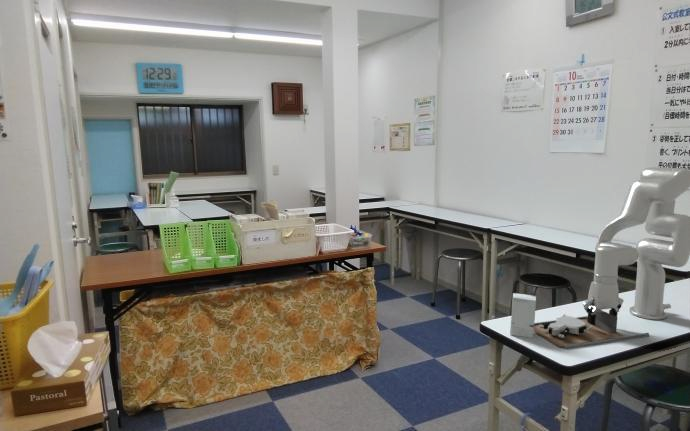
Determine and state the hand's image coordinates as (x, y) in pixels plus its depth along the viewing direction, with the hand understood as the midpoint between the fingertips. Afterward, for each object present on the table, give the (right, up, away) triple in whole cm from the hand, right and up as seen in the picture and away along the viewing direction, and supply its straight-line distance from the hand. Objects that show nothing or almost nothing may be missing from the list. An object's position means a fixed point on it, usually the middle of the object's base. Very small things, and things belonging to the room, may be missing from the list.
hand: (601, 322), depth 168 cm
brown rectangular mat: (-11, -3, -2) cm, 12 cm away
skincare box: (-31, -4, -2) cm, 31 cm away
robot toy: (-16, -3, -3) cm, 17 cm away
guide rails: (-6, -3, -1) cm, 7 cm away
